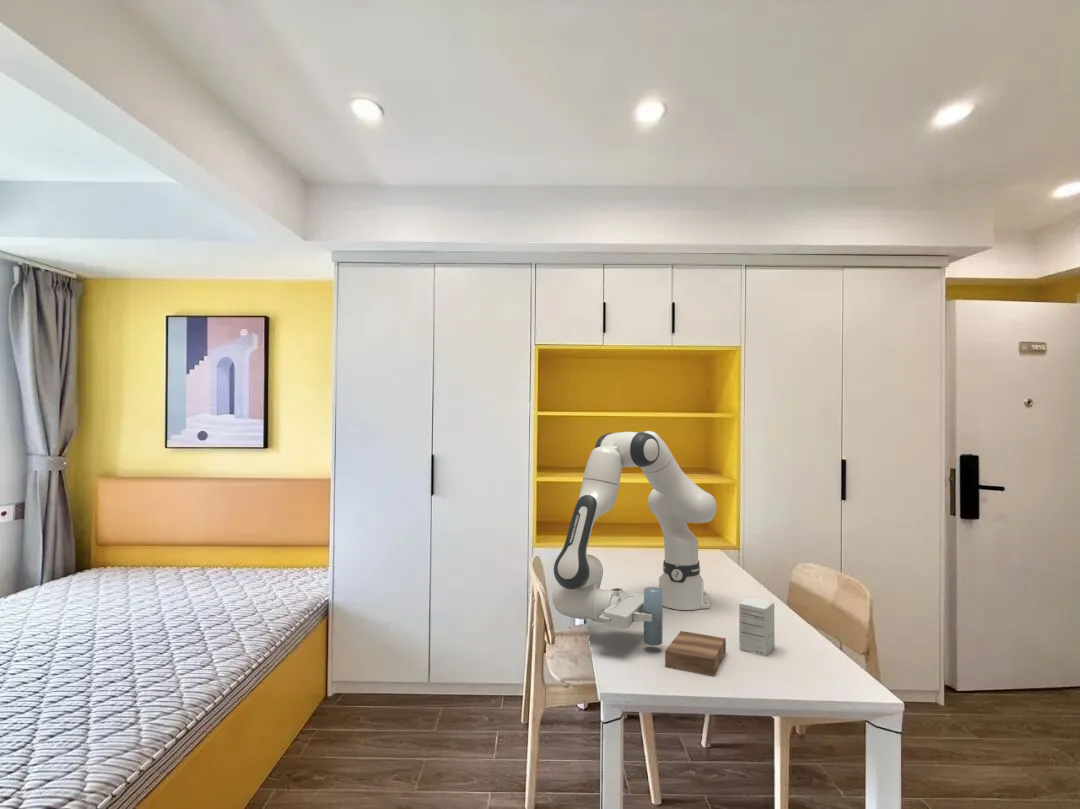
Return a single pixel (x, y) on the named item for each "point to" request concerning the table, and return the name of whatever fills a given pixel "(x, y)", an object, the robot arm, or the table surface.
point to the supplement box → (756, 626)
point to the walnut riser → (695, 652)
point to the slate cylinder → (654, 606)
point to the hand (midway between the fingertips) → (656, 614)
